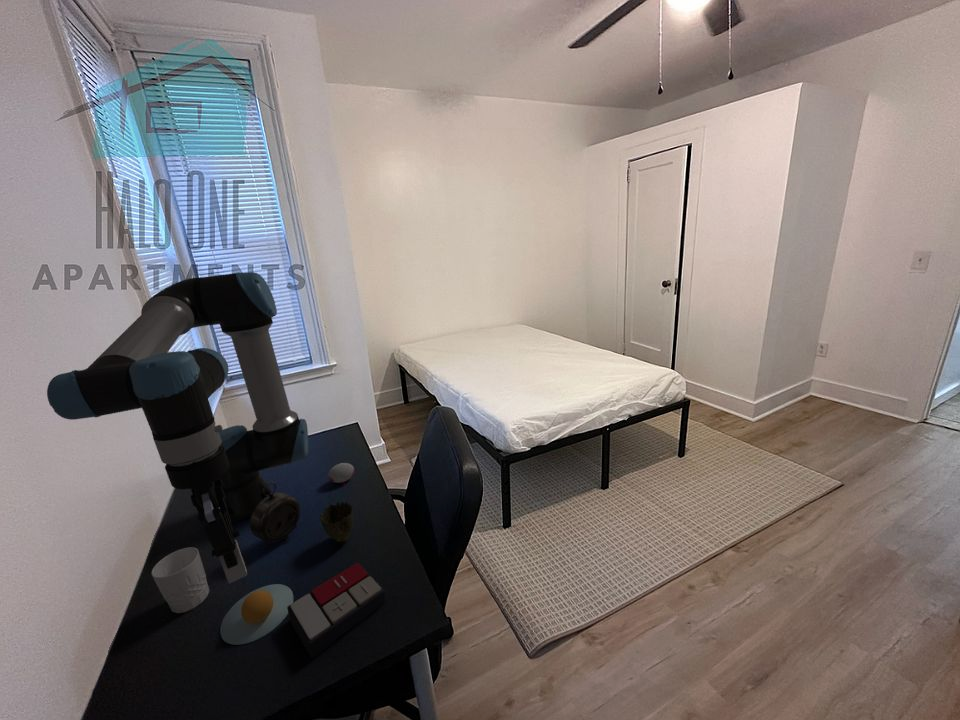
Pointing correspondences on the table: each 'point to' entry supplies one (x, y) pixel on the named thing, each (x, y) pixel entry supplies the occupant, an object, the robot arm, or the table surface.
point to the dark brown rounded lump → (338, 521)
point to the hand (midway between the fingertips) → (237, 576)
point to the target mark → (243, 632)
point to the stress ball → (341, 472)
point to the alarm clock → (275, 517)
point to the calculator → (335, 608)
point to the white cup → (181, 579)
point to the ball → (257, 607)
